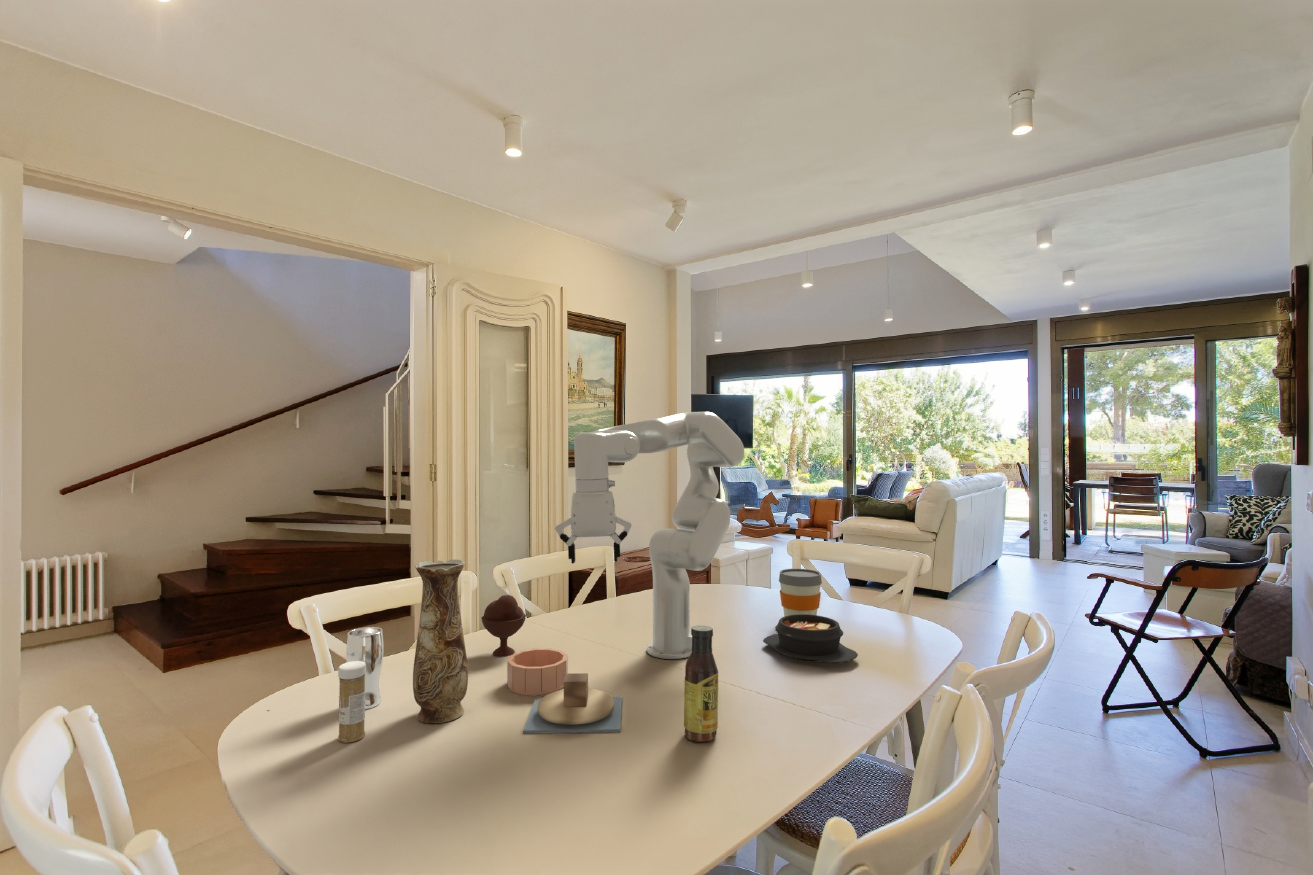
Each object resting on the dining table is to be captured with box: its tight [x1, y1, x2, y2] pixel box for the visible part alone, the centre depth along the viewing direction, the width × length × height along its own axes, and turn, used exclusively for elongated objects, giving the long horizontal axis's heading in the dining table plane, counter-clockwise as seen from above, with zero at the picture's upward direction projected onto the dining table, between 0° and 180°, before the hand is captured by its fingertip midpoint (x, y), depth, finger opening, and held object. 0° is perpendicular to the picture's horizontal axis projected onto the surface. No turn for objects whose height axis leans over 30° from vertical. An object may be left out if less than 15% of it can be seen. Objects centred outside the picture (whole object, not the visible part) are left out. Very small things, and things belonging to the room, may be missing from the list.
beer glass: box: [345, 626, 384, 711], centre depth 131 cm, size 7×7×15 cm
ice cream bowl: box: [481, 594, 527, 657], centre depth 163 cm, size 11×11×15 cm
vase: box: [412, 559, 469, 724], centre depth 127 cm, size 10×11×30 cm
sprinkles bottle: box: [337, 661, 366, 744], centre depth 116 cm, size 5×5×14 cm
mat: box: [522, 696, 623, 734], centre depth 126 cm, size 18×15×1 cm
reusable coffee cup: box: [778, 568, 823, 617], centre depth 190 cm, size 13×13×15 cm
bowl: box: [506, 647, 569, 697], centre depth 142 cm, size 13×13×6 cm
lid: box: [538, 672, 614, 725], centre depth 126 cm, size 15×15×7 cm
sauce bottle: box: [683, 624, 719, 743], centre depth 117 cm, size 7×6×20 cm
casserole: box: [762, 614, 859, 665], centre depth 162 cm, size 25×19×8 cm
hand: (594, 561), depth 145 cm, fingers open, 9 cm apart
